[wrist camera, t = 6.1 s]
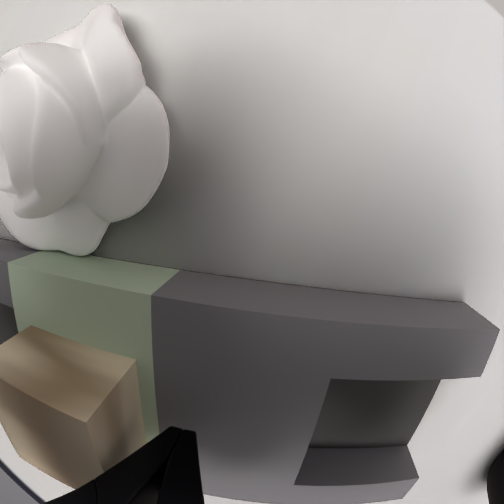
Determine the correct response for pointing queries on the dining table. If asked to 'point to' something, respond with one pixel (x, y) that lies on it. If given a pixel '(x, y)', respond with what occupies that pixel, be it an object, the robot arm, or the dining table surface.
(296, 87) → the dining table surface
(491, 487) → the mug
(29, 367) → the birch block
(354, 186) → the dining table surface
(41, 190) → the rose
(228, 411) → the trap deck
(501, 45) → the dining table surface
